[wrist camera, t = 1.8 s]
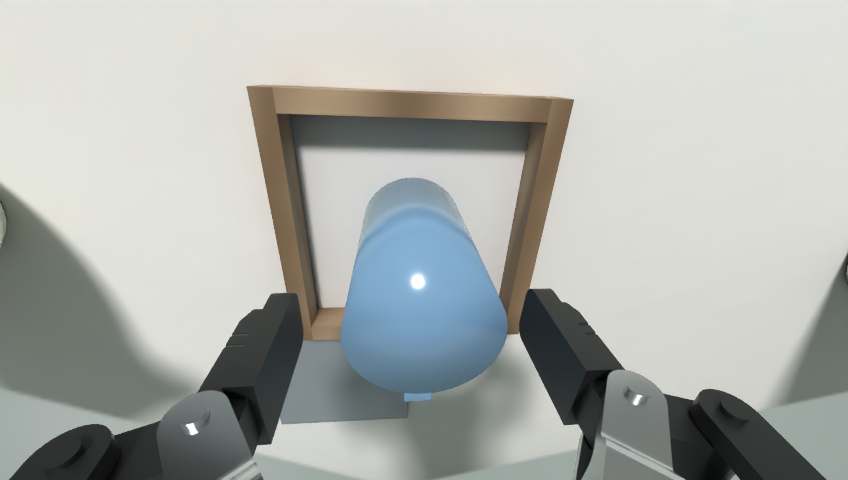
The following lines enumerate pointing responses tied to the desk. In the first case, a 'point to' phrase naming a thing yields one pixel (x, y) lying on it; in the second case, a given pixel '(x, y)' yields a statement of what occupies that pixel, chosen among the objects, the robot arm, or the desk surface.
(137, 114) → the desk surface
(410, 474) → the desk surface
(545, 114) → the holder
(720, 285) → the desk surface
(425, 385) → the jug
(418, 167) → the desk surface
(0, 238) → the pitcher
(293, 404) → the mat
